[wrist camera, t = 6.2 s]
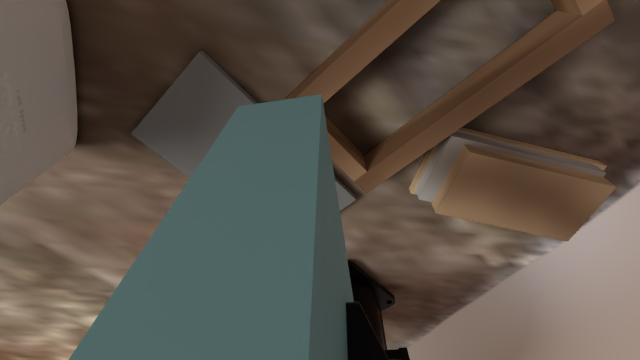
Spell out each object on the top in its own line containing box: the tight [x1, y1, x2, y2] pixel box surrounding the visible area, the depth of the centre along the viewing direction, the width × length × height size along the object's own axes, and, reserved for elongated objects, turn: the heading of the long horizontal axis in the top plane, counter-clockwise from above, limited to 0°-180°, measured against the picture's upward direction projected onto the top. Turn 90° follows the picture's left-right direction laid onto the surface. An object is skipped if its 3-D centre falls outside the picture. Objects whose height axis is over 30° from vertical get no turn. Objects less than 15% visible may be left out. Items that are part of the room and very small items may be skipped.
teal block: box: [69, 94, 354, 360], centre depth 8 cm, size 2×10×8 cm, turn 9°
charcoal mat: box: [131, 50, 356, 211], centre depth 21 cm, size 13×7×1 cm, turn 43°
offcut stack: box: [409, 127, 616, 241], centre depth 21 cm, size 5×11×3 cm, turn 76°
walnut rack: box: [285, 0, 615, 193], centre depth 17 cm, size 7×14×2 cm, turn 133°
